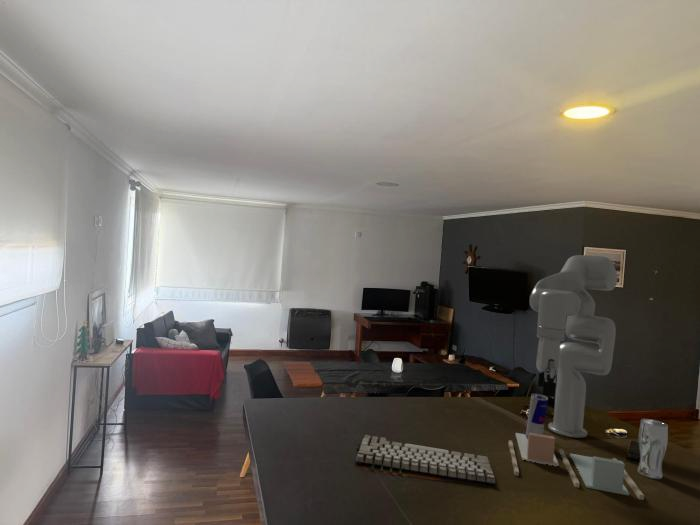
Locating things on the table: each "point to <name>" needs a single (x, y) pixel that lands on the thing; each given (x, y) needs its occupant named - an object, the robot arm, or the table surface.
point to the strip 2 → (601, 473)
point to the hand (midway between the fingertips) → (545, 391)
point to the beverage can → (537, 414)
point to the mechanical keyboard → (423, 462)
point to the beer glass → (652, 447)
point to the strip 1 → (537, 448)
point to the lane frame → (572, 474)
